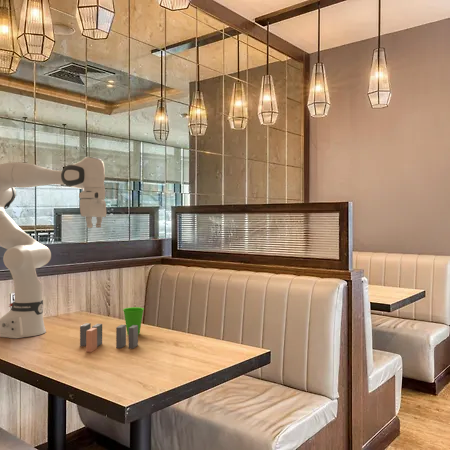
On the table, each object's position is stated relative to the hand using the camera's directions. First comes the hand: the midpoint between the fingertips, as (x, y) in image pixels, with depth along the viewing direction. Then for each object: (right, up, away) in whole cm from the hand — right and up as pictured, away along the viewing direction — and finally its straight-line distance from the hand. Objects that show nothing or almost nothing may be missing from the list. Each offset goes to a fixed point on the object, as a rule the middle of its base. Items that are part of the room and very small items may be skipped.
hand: (94, 227), depth 193 cm
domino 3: (+5, -47, -13) cm, 49 cm away
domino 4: (+15, -47, -14) cm, 51 cm away
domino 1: (0, -47, -12) cm, 48 cm away
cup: (+16, -47, +5) cm, 50 cm away
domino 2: (+5, -47, -20) cm, 51 cm away
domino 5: (+20, -47, -15) cm, 53 cm away
